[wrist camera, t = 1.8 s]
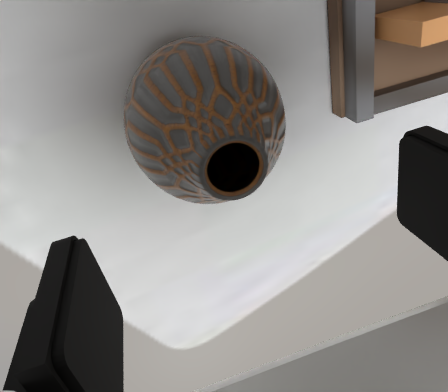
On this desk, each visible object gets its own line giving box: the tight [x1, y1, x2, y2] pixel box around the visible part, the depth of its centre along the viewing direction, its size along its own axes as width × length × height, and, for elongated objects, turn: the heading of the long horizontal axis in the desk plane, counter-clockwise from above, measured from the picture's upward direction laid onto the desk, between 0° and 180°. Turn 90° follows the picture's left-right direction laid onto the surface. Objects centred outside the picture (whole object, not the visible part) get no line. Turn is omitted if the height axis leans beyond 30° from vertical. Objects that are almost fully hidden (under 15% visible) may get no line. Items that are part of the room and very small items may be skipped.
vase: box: [124, 36, 286, 204], centre depth 16 cm, size 7×7×9 cm
